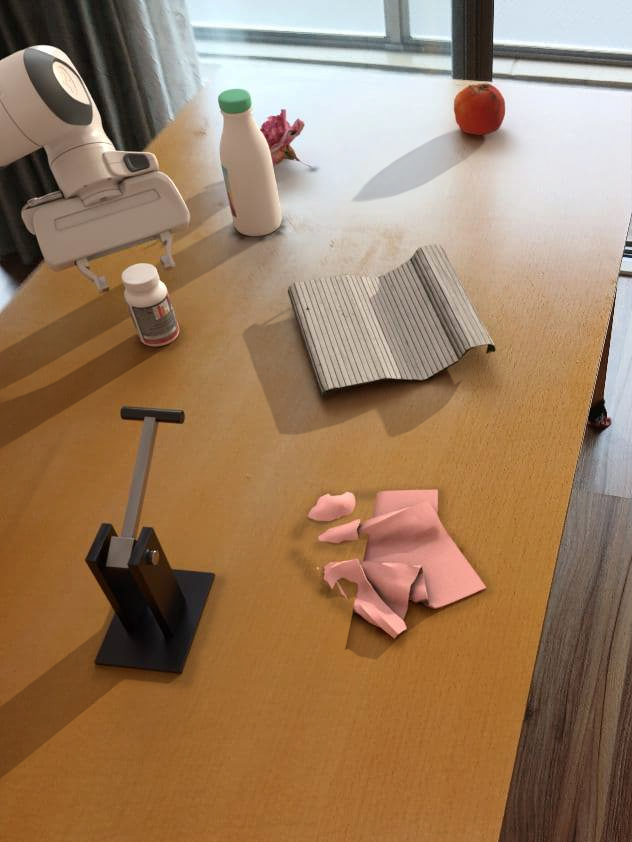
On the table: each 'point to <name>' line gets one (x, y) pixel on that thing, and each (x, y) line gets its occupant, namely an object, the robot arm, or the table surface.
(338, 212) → the table surface
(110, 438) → the table surface
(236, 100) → the milk bottle
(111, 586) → the bracket
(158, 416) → the lever
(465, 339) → the mat
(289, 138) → the flower
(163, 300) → the pill bottle
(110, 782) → the table surface
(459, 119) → the red round fruit
